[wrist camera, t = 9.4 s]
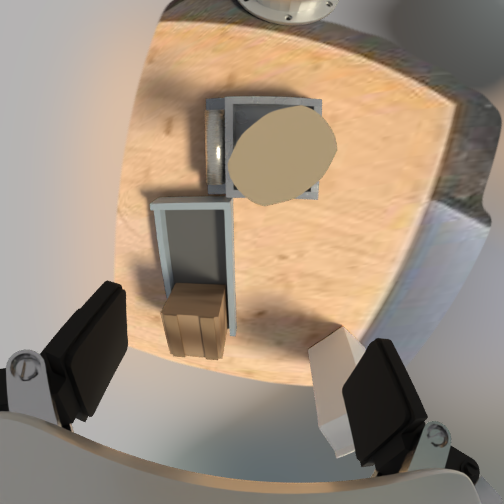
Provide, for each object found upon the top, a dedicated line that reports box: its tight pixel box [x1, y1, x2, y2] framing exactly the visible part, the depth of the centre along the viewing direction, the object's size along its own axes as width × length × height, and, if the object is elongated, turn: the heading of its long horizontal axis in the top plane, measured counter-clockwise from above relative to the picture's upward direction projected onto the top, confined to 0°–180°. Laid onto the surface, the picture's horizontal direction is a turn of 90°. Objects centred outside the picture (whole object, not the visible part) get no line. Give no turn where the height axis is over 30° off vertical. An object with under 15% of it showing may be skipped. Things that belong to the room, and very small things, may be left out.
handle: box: [228, 105, 337, 206], centre depth 22 cm, size 5×6×15 cm
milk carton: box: [308, 326, 366, 458], centre depth 34 cm, size 7×7×19 cm
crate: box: [161, 283, 228, 360], centre depth 35 cm, size 7×7×7 cm
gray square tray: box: [205, 96, 322, 200], centre depth 28 cm, size 11×12×4 cm
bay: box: [150, 196, 237, 336], centre depth 36 cm, size 20×9×3 cm, turn 0°
